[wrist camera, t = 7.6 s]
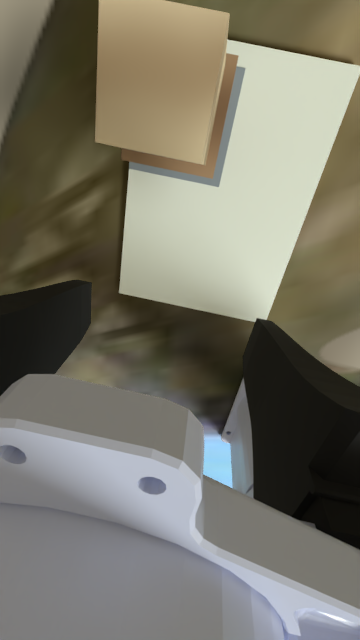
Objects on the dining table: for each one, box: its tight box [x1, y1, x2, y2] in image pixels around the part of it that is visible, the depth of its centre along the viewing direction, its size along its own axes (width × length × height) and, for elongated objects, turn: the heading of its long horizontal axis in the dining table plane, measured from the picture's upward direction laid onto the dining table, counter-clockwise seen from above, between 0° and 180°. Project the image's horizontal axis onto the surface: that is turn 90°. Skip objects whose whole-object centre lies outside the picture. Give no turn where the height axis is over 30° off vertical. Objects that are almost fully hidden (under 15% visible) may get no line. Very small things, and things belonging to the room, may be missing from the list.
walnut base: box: [121, 53, 239, 179], centre depth 15 cm, size 5×5×4 cm
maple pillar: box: [95, 0, 230, 165], centre depth 12 cm, size 4×4×5 cm
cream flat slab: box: [119, 39, 360, 322], centre depth 19 cm, size 16×12×1 cm
